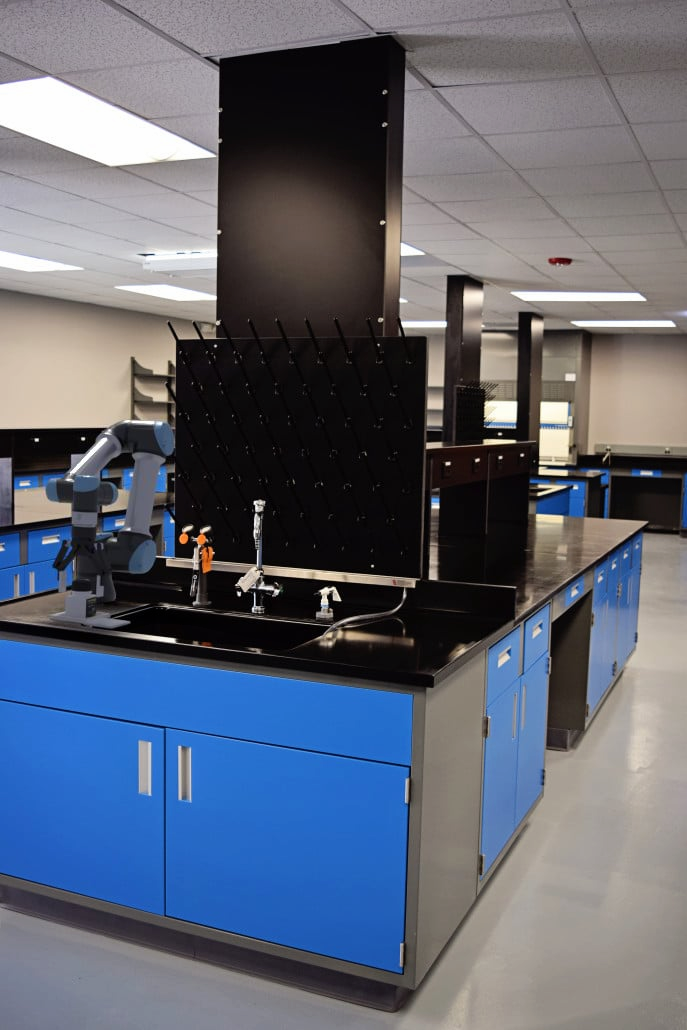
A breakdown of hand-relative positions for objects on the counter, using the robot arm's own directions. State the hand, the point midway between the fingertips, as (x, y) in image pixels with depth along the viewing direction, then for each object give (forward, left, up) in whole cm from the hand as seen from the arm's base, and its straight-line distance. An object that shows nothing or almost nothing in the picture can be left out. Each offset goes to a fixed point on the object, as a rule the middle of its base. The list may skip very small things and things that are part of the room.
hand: (80, 594), depth 291 cm
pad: (+3, +11, -8) cm, 14 cm away
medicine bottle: (0, 0, -8) cm, 8 cm away
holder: (0, 0, -8) cm, 8 cm away
